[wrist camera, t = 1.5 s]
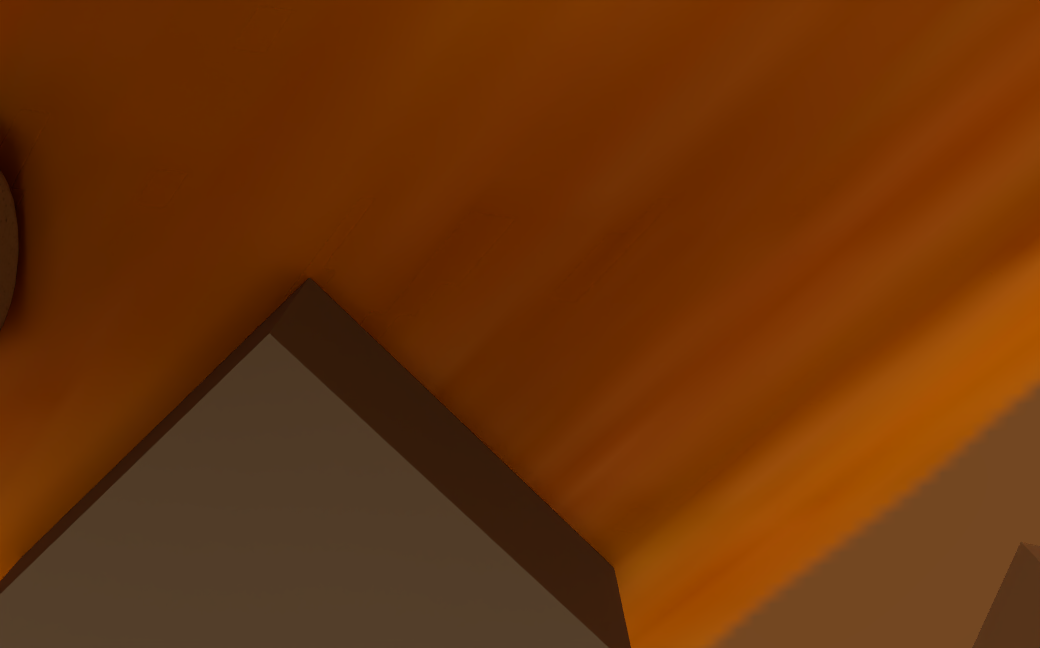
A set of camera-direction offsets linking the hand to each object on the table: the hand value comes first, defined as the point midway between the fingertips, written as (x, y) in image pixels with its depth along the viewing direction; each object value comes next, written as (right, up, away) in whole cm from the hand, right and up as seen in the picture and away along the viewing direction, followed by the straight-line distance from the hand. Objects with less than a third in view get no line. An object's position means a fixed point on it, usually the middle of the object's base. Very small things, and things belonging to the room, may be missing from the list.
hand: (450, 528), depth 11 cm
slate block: (-6, -6, +24) cm, 26 cm away
